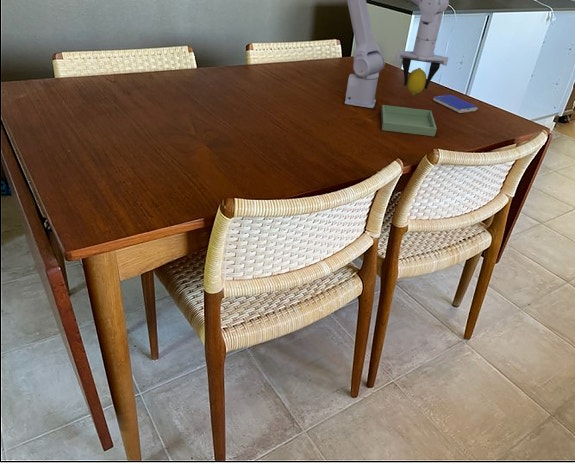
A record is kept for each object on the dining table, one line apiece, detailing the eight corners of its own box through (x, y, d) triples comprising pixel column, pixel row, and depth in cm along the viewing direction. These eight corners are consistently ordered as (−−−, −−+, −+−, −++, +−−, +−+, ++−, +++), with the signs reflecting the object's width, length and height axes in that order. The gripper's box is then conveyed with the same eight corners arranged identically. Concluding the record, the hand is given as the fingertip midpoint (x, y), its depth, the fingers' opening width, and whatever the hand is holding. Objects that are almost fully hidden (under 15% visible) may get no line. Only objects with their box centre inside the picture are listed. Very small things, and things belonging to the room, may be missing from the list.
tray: (381, 130, 136) (383, 122, 135) (381, 112, 148) (382, 104, 147) (434, 136, 135) (436, 128, 133) (429, 117, 147) (431, 110, 146)
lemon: (424, 94, 143) (430, 67, 138) (420, 99, 139) (427, 71, 134) (406, 90, 144) (412, 64, 140) (402, 95, 140) (408, 68, 136)
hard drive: (433, 96, 161) (460, 108, 152) (451, 94, 164) (478, 106, 155) (432, 100, 161) (458, 113, 153) (450, 98, 165) (476, 110, 156)
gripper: (399, 37, 130) (390, 86, 138) (452, 44, 128) (440, 93, 136) (401, 32, 136) (391, 79, 144) (452, 39, 133) (439, 87, 141)
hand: (415, 86), depth 140 cm, fingers closed on lemon, 5 cm apart
